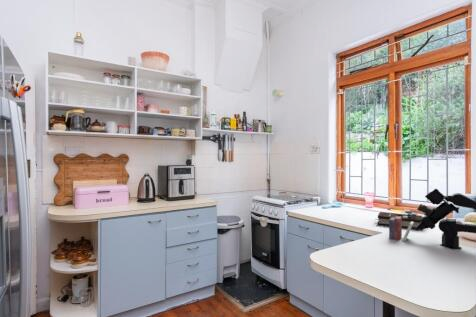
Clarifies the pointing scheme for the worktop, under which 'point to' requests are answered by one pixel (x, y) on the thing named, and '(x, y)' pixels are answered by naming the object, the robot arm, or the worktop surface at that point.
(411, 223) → the bookend
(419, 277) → the worktop surface
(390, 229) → the book row
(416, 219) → the decorative book
